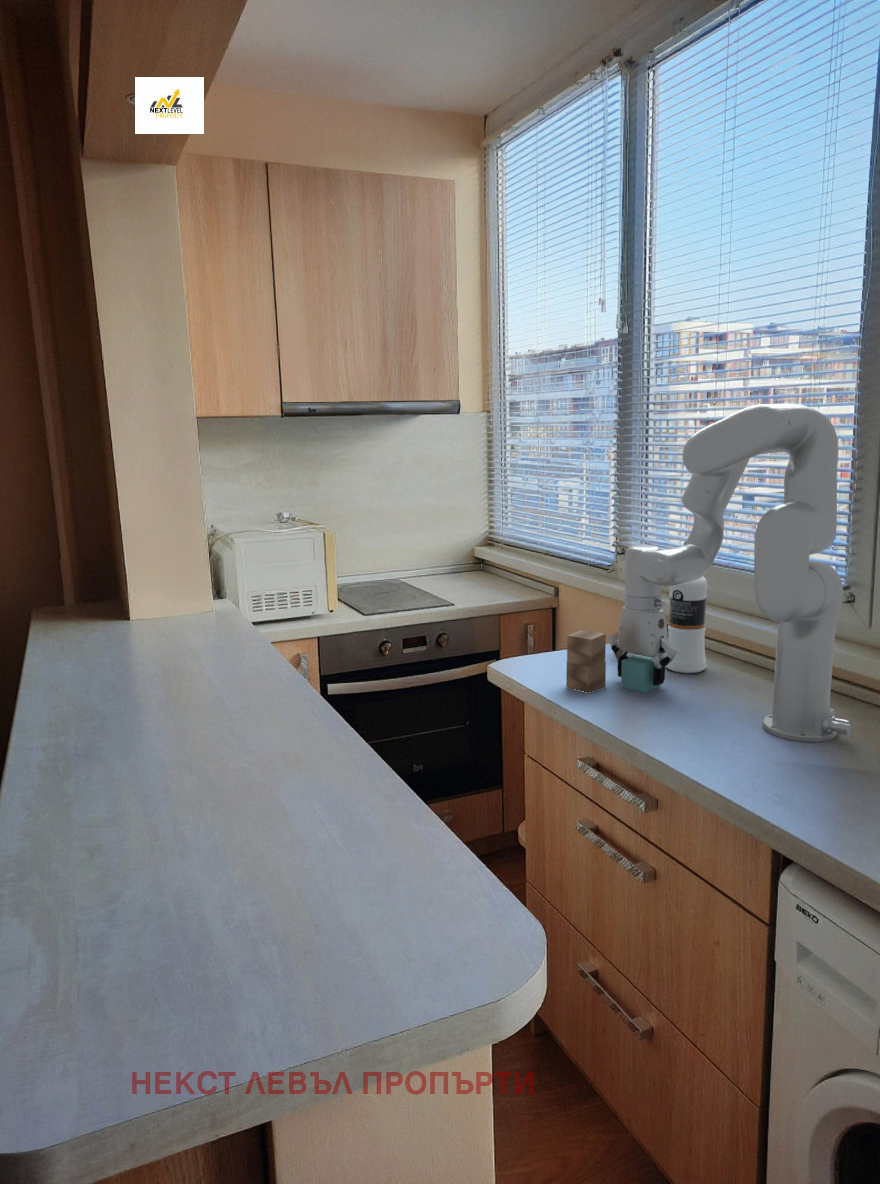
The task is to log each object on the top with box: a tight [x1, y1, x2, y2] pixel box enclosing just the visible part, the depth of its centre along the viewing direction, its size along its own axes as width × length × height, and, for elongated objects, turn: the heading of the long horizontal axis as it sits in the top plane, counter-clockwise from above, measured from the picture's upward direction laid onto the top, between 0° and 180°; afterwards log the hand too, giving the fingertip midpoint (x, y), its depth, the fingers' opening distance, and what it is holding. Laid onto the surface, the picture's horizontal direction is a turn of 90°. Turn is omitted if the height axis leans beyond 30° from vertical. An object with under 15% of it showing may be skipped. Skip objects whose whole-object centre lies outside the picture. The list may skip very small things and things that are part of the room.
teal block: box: [620, 655, 661, 693], centre depth 178 cm, size 6×6×6 cm
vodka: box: [665, 541, 709, 674], centre depth 187 cm, size 9×9×30 cm
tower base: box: [565, 660, 607, 694], centre depth 178 cm, size 6×6×6 cm
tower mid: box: [566, 629, 607, 667], centre depth 177 cm, size 6×6×6 cm
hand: (640, 679), depth 178 cm, fingers open, 8 cm apart
